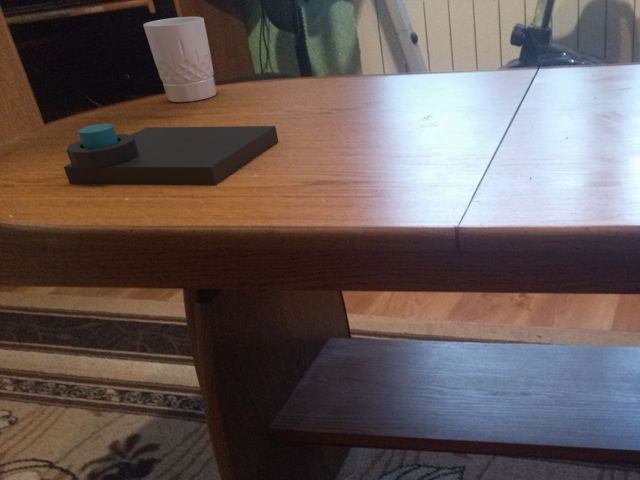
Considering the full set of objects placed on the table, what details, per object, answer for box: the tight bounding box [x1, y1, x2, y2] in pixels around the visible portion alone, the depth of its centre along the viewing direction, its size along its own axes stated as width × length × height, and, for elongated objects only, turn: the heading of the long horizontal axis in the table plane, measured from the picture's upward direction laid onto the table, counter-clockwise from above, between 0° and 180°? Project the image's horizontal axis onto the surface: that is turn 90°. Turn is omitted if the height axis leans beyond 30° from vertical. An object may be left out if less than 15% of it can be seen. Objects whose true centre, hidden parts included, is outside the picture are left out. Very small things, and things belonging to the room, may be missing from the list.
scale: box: [63, 125, 279, 186], centre depth 75 cm, size 16×15×4 cm
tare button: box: [77, 123, 118, 148], centre depth 72 cm, size 3×3×2 cm
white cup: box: [142, 16, 218, 103], centre depth 102 cm, size 8×8×10 cm
